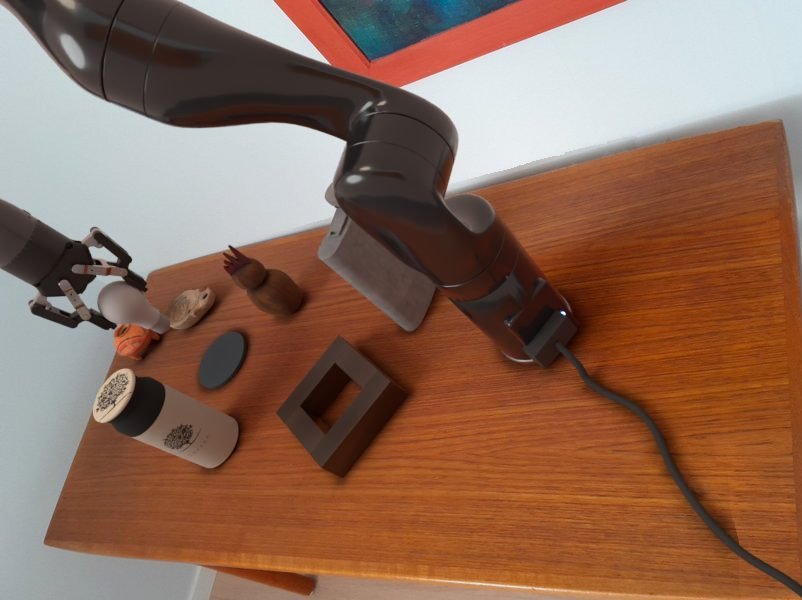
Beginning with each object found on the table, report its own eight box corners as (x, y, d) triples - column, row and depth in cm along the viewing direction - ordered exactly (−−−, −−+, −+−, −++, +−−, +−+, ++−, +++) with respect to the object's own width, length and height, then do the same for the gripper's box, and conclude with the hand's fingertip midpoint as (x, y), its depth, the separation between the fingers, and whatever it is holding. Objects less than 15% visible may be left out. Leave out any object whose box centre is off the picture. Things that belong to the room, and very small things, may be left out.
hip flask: (430, 233, 95) (343, 138, 80) (454, 230, 92) (368, 131, 78) (400, 331, 89) (298, 248, 74) (424, 330, 86) (325, 244, 72)
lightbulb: (189, 310, 98) (124, 271, 90) (171, 347, 96) (102, 310, 88) (166, 310, 102) (101, 273, 94) (148, 346, 99) (80, 310, 91)
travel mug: (198, 436, 101) (91, 389, 88) (236, 407, 99) (133, 354, 86) (203, 479, 96) (90, 435, 82) (243, 449, 94) (134, 399, 81)
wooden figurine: (311, 285, 104) (240, 229, 93) (304, 316, 101) (230, 263, 90) (280, 294, 107) (208, 242, 96) (272, 325, 104) (197, 274, 93)
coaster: (255, 349, 104) (252, 348, 103) (214, 400, 103) (211, 398, 103) (232, 323, 110) (229, 322, 110) (193, 370, 110) (190, 369, 109)
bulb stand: (409, 394, 83) (390, 381, 80) (342, 478, 82) (320, 468, 79) (356, 348, 92) (338, 334, 89) (295, 423, 91) (275, 412, 88)
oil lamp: (224, 287, 117) (202, 272, 113) (217, 322, 113) (194, 307, 109) (174, 310, 123) (151, 296, 119) (165, 344, 118) (141, 331, 115)
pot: (125, 353, 124) (99, 330, 119) (161, 327, 125) (136, 303, 121) (134, 374, 118) (107, 350, 113) (171, 346, 119) (146, 322, 115)
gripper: (-23, 297, 79) (103, 358, 91) (56, 204, 80) (171, 277, 92) (-29, 274, 84) (91, 335, 96) (46, 187, 85) (155, 258, 97)
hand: (130, 306), depth 94 cm, fingers closed on lightbulb, 6 cm apart
